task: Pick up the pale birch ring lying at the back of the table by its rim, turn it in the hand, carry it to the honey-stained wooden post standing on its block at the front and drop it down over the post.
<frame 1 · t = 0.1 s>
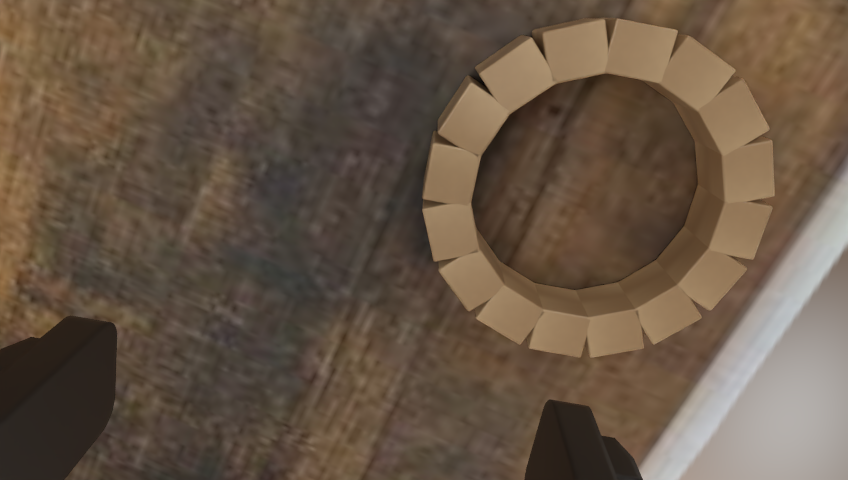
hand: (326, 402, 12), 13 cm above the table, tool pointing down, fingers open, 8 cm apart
ring: (582, 184, 23), on the table
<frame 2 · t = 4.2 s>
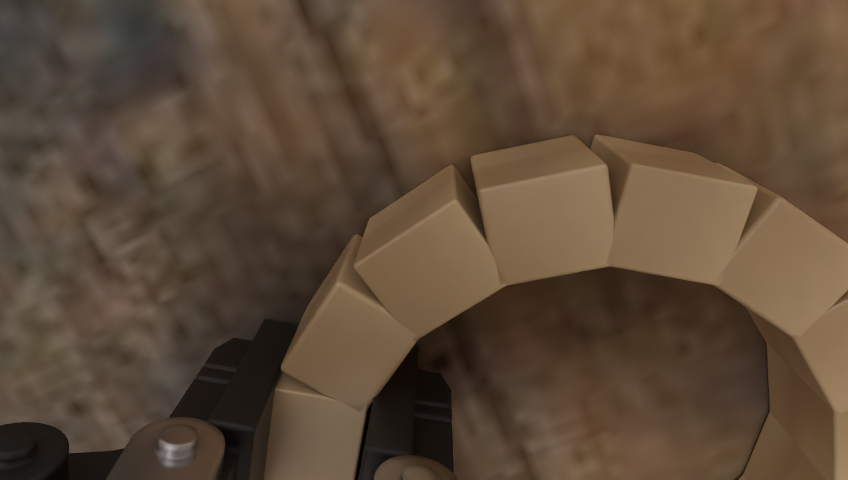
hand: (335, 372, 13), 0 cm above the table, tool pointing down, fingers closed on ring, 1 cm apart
ring: (566, 410, 13), on the table, touching gripper
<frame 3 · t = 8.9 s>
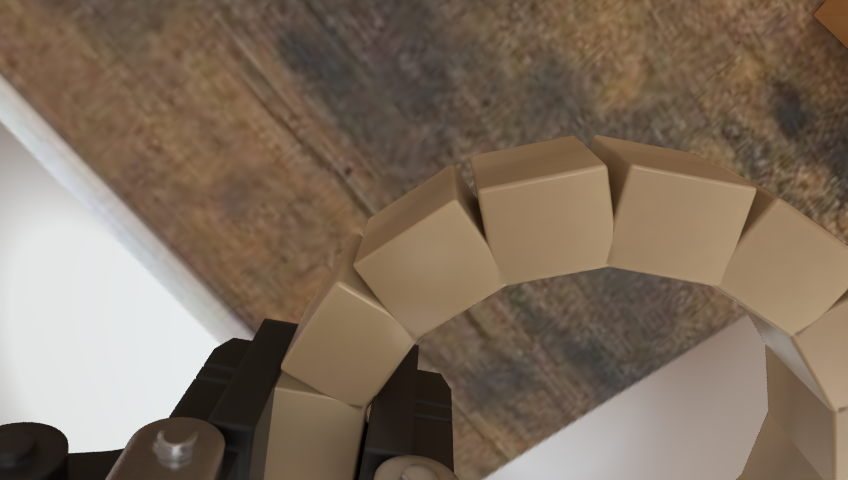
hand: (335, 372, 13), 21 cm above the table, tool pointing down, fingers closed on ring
ring: (565, 410, 13), point 21 cm above the table, touching gripper
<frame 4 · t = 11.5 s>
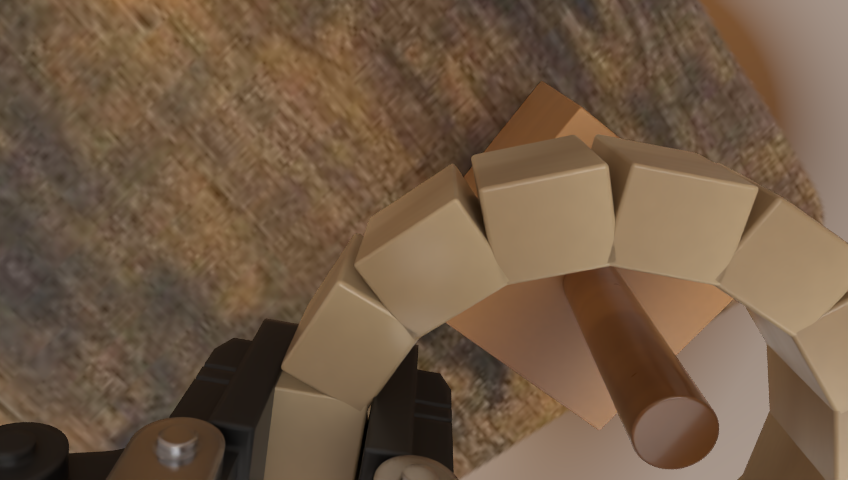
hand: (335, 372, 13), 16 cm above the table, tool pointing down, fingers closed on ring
post: (591, 283, 21), on the table
ring: (566, 409, 13), point 16 cm above the table, touching gripper
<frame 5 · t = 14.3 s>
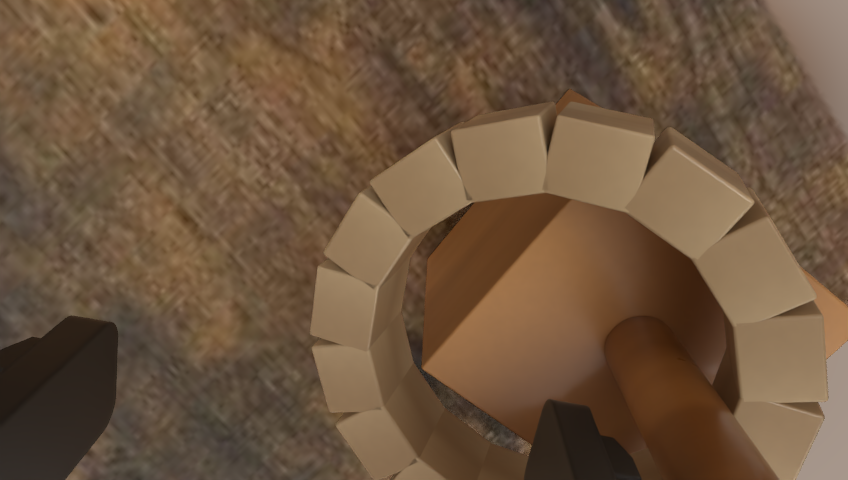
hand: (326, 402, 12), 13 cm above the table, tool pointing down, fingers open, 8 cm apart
post: (639, 346, 17), on the table
ring: (552, 326, 17), point 8 cm above the table, tilted 16°, touching post
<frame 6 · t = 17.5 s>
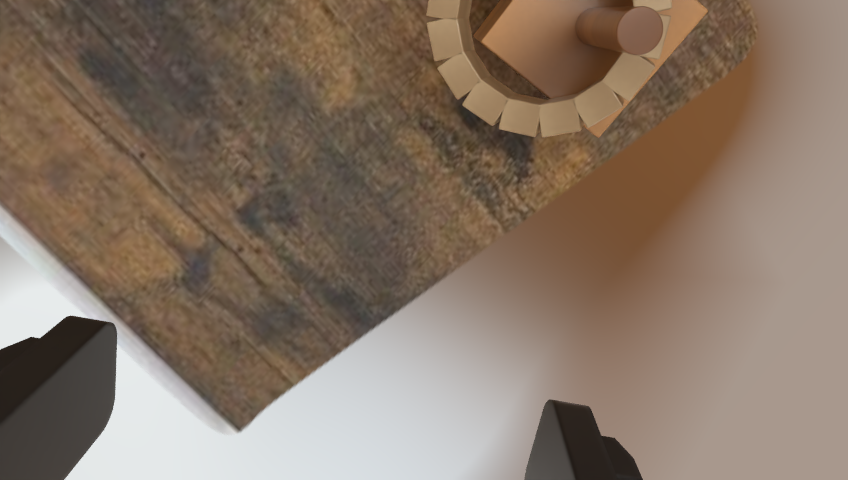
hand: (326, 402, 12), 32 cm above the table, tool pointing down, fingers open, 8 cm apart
post: (593, 26, 33), on the table
ring: (548, 16, 33), point 8 cm above the table, tilted 16°, touching post
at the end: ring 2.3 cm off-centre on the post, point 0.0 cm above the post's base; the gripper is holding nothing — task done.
